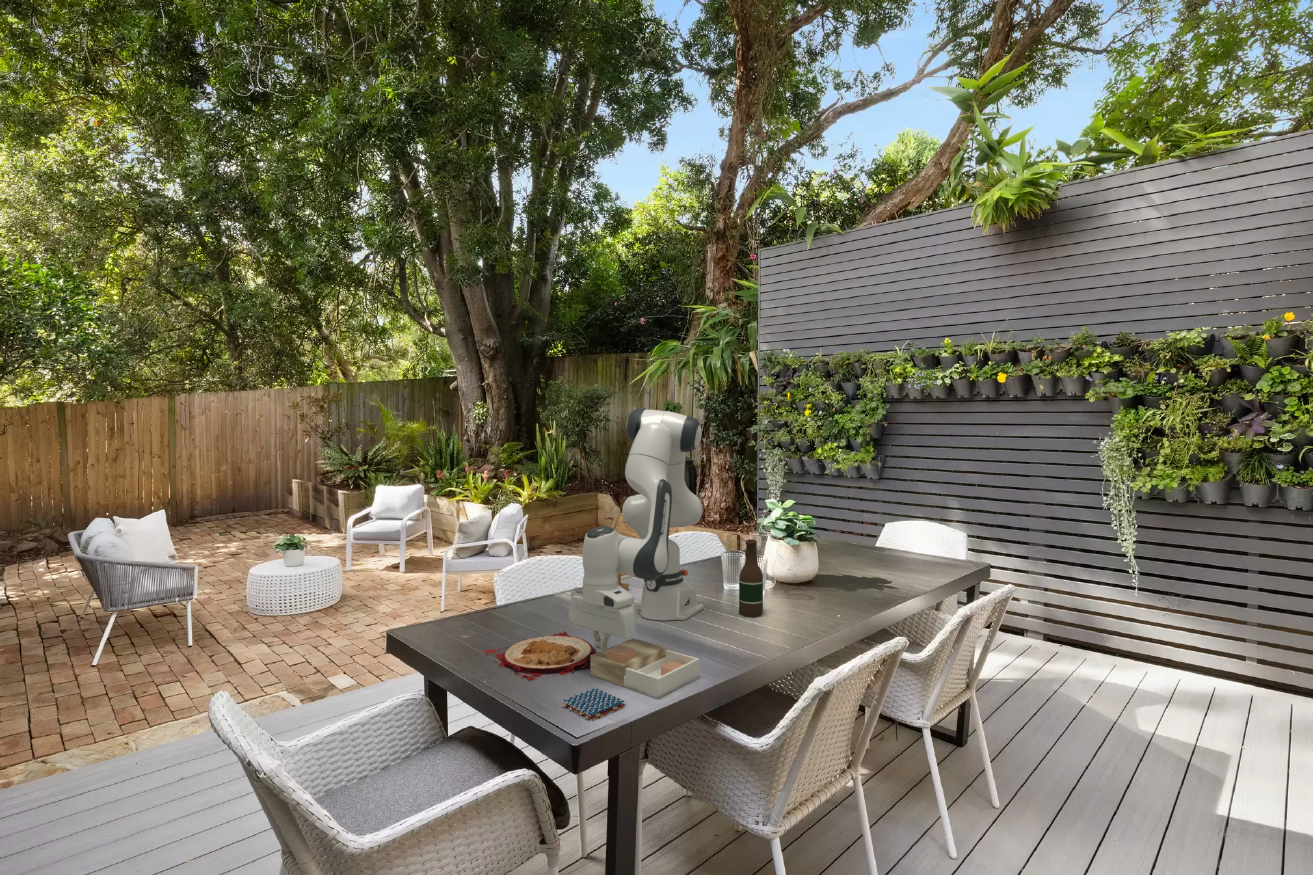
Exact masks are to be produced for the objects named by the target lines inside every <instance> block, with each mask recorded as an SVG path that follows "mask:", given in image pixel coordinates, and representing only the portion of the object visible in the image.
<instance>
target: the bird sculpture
mask: <svg viewBox="0 0 1313 875" xmlns="http://www.w3.org/2000/svg"><path fill="white" fill-rule="evenodd" d="M604 514H605V515H604V520H606V521H607V520H611V521H610V524H609V526H608V527H612V528H614V529H615V530H616V527H617V524H618V521H619V519H620V516H621V514H622V511H621V507H619V506H618V505H615V504H614V505H613V506H612V508H611V509H609V510H608V511H607V512H605V513H604ZM617 577H618V585H620V586H621V587H622V588H624V589H625V590H626V591H628V588H629V585H630V584H629V583H621V582H622V581H621V579H622V574H621V573H619V574H617Z"/></svg>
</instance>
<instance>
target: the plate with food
mask: <svg viewBox="0 0 1313 875" xmlns="http://www.w3.org/2000/svg"><path fill="white" fill-rule="evenodd" d="M499 649H500V648H497V649H485V650H484V654H485V655H486V654H487V653H489V654H491V653H490V652H492V653H497V652H500V651H501V649H500V650H499ZM504 649H505V650H506V651H505V652H502V653H497V654H495V657H496V658H498V659H497V660H499V661H500V662H499V663H498V664H499V665H498V667H500V668H502V669H506V668H507V669H508V668H511V669H513V670H515V671H517V672H520V673H516V672H513V674H514V675H515V676H518V677H520V680H527V682H532V681H534V680H538V678H541V677H542V676H546V675H547V676H548V675H549V674H552V673H553V674H555V673H558V674H559V676H565V675H568V674H572V673H574V672H576V669H579V667H577V666H580V668H581V669H583V668H586V667H587V665H588V668H589V669H591V655H592V654H595V653H597V652H598V651H597V648H595V647H593V645H592V644H591V643H590V642H589V641H587V640H586V639H584V638H579V637H576V636H575V637H574V636H571V635H569V634H568V633H567V631H563V632H559V633H554V634H553V635H544V636H539V637H538V636H537V637H532V638H525V639H523V640H522V639H521V641H520V640H519V641H518V642H516V643H514V644H513V645H511V646H509V648H508V647H507V646H505V648H504ZM498 650H499V651H498ZM495 664H497V661H495ZM504 667H505V668H504ZM574 668H576V669H574ZM521 673H522V675H520V674H521ZM513 674H512V673H510V674H509V676H512V675H513ZM528 674H529V675H528ZM524 677H527V678H526V679H524ZM553 677H556V675H553Z"/></svg>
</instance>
